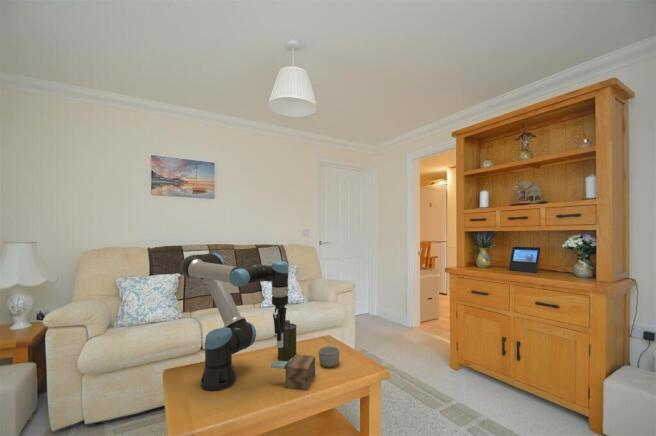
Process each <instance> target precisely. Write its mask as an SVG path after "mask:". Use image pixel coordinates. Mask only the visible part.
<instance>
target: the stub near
mask: <svg viewBox="0 0 656 436" xmlns="http://www.w3.org/2000/svg"><path fill="white" fill-rule="evenodd" d="M288 363H289V362H285V361H279V360H274V361H273V362H272V363H271V364H270V368H271V369H279V370H286V366H287V365H288Z"/></svg>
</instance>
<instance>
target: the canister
mask: <svg viewBox="0 0 656 436" xmlns="http://www.w3.org/2000/svg"><path fill="white" fill-rule="evenodd" d="M284 330H285V332H283V348H277V361H285V362H288V361H289V360H290V359H291V358H293V357H294V356H295V355H297V325H296V324H295V323H291V322H290V320H289V319H286V320H285V329H284Z"/></svg>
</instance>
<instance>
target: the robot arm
mask: <svg viewBox="0 0 656 436" xmlns="http://www.w3.org/2000/svg"><path fill="white" fill-rule="evenodd" d="M179 267H180V272H181V273H182V275H183V276H184V277H186V278H189V279H195V280H196V279H199V278H200V279H201V282H203V283H204V284H206V285H207V288H208V289H209V292H210V295H211V297H212V299H213V302H214V303H215V306H216V308H217V310H218V312H219V315H220V317H221V320H222V322H223V324H224V325H223V327H219V328H215V329H212V330H211V331H209V332H207V333H206V336H205V338H204V339H205V340H204V341H205V342H204V369H203V372H202V376H201V379H200V387H201V389H203V390H204V391H208V392H209V391H211V392H215V391H221V390H225V389H228V388H229V387H231V386H233V385H234V384H235V383H236V379H237V378H236V377H237V376H236V373H235V369H234V367H233V364H232V363H233V358H232V356H233V355H235V354H236V353H238V352H239V353H240V351H243V350H247V348H249V347H251V346H252V345H254V344H255V341H256V338H257V329H256V326H255V325H254V324H253V323H251V322H248V321H247V320H246V317H243V316H241V314H240V311H239V310H238V306H237V305H236V303H235V300H234V298H233V296H232V294H231V292H230V289H229V288H228V285H227V284H226V283H228V284H231V285H232V286H233V287H238V288H239V287H244V286H248V285H252V284H257V283H261V282H271V305H273V306H275V308H274V313H273V314H272V318H273V326H274V327H273V328H274V334H276V348H277V349H278V348H283V332H285V330H284V329H285V320H287V318H286V317H287V309H288V308H287V307H286V305H288V304H289V296H288V295H289V291H290V288H289V263H287V262H286V261H273V262H272V263H271V265H266V264H254V265H253V266H250V267H239V266H234V265H227V264H225V260H224V258H223V257H222V256H221V255H220V254H218V253H213V252H208V253H202V254H192V255H189V256H187V257H185V258H184V259H183V260H182V261H181V263H180V266H179Z"/></svg>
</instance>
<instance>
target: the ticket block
mask: <svg viewBox="0 0 656 436" xmlns="http://www.w3.org/2000/svg"><path fill="white" fill-rule="evenodd" d="M315 377H316V356H315V355H306V354H304V355H303V354H296V355H295V356H294V357H293V358H292V359H291V361H290V362H289V363H288V365H287V366H286V369H285V388H286V389H292V390H303V391H308V389H309V388H310V386H311V384H312V382H313V381H314V379H315Z"/></svg>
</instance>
